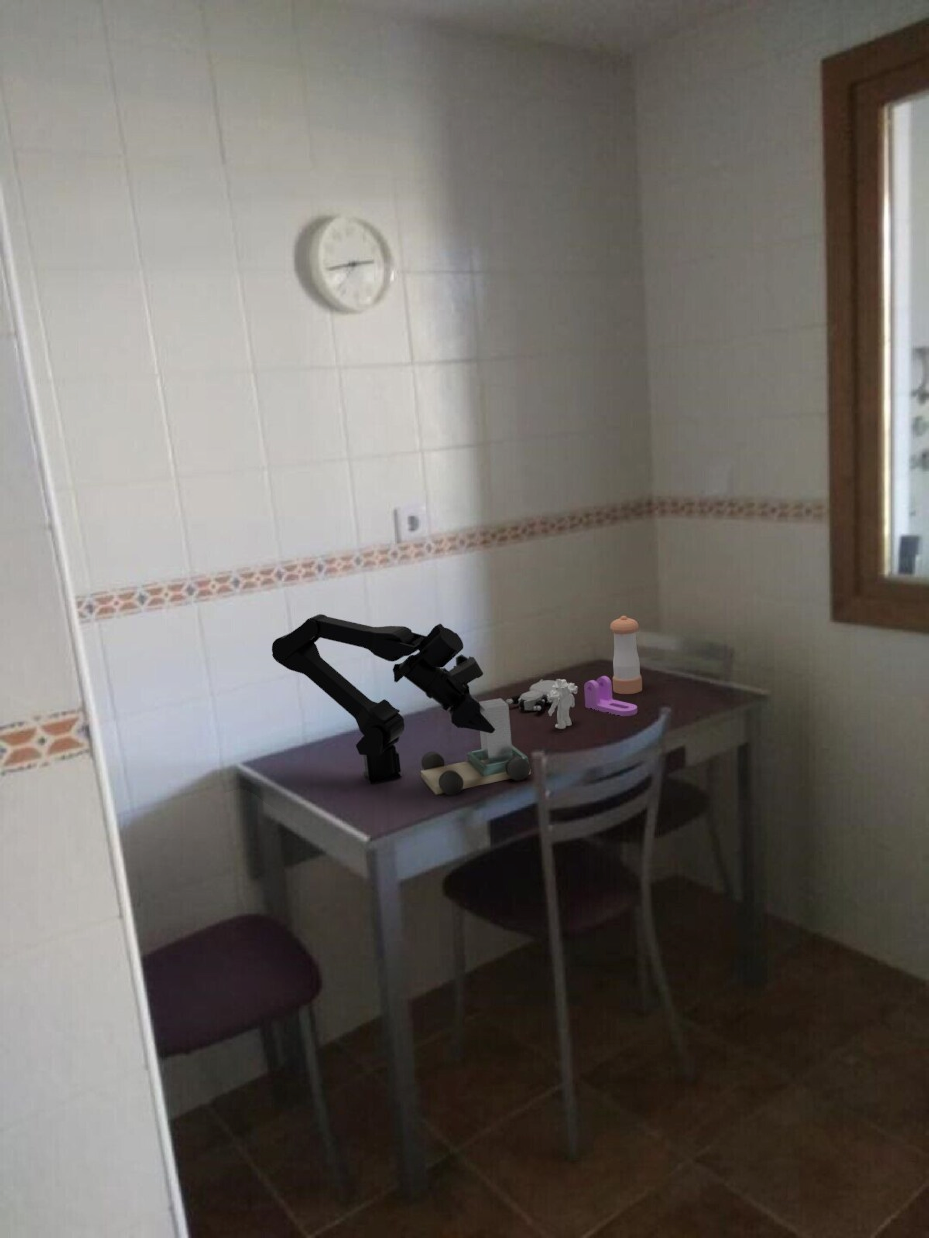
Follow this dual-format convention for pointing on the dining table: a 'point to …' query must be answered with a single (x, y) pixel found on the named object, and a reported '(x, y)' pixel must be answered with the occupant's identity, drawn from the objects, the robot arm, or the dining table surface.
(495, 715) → the tall gray rectangular block
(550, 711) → the flower shoulder figurine
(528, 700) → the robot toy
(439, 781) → the toy car chassis
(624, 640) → the pepper shaker
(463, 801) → the dining table surface
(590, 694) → the bracket
